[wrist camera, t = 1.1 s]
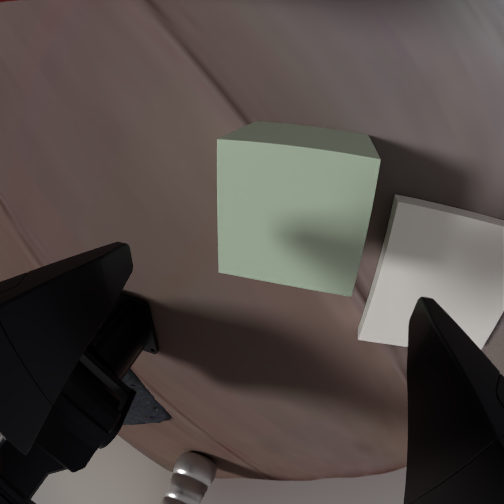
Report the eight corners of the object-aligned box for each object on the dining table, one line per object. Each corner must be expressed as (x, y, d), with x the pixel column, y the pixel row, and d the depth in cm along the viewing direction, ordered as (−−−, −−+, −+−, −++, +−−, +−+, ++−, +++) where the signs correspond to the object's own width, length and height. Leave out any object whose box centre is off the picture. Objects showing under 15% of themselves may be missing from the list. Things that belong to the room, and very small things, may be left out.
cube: (351, 234, 18) (351, 296, 13) (253, 218, 19) (218, 272, 14) (368, 134, 15) (380, 159, 10) (257, 120, 16) (217, 139, 11)
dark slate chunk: (112, 409, 44) (98, 429, 40) (26, 304, 36) (5, 324, 32) (180, 419, 37) (166, 447, 33) (76, 289, 29) (48, 316, 25)
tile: (474, 343, 19) (477, 354, 18) (358, 327, 21) (357, 339, 20) (529, 227, 14) (537, 236, 13) (394, 194, 16) (398, 201, 15)
